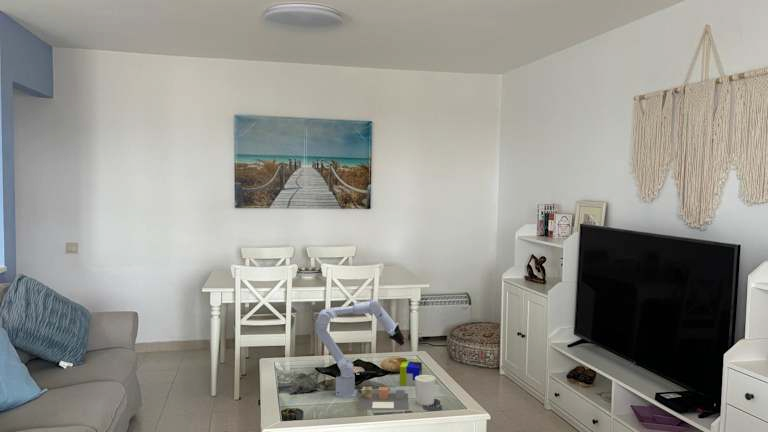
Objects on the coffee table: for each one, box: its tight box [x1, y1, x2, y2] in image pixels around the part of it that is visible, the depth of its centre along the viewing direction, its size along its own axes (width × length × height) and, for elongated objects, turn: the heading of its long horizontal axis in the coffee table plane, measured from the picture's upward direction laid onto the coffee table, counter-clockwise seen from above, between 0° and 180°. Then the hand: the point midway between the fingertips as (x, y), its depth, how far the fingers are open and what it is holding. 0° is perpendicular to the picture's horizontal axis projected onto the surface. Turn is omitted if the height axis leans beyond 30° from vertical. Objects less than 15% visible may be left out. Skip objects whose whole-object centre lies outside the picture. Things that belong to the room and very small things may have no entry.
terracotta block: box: [378, 386, 389, 399], centre depth 282 cm, size 4×4×4 cm
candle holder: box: [415, 374, 437, 406], centre depth 276 cm, size 10×10×12 cm
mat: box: [356, 392, 410, 411], centre depth 277 cm, size 24×22×1 cm
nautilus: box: [380, 356, 411, 373], centre depth 325 cm, size 8×22×15 cm
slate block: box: [394, 386, 406, 399], centre depth 282 cm, size 4×4×4 cm
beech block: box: [361, 386, 373, 399], centre depth 282 cm, size 4×4×4 cm
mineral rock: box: [290, 372, 320, 395], centre depth 291 cm, size 13×11×10 cm
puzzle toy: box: [399, 361, 423, 387], centre depth 305 cm, size 10×10×10 cm
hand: (402, 342), depth 287 cm, fingers open, 7 cm apart
